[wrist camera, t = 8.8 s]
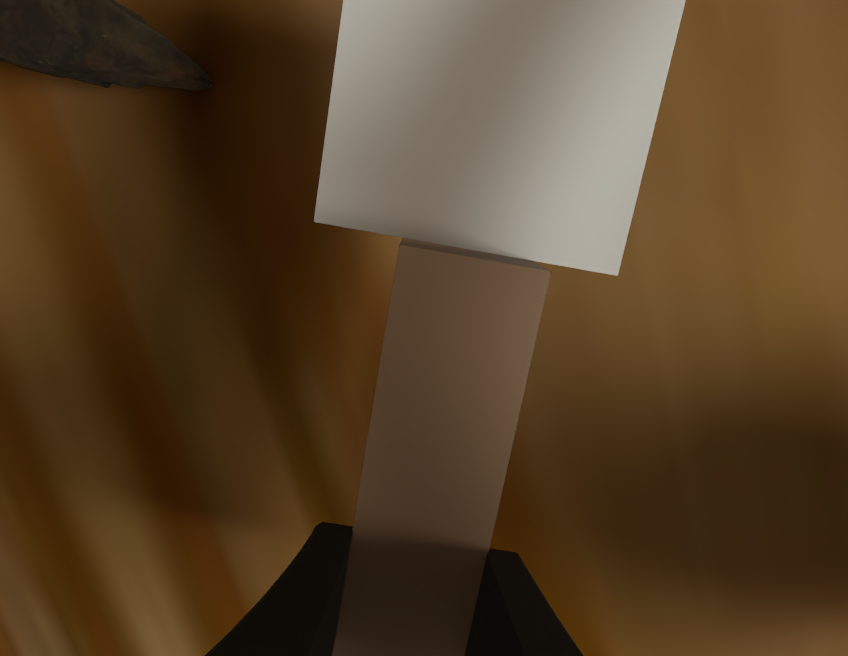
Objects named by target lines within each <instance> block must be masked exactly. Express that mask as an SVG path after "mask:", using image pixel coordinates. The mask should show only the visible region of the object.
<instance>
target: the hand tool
mask: <svg viewBox="0 0 848 656" xmlns="http://www.w3.org/2000/svg"><path fill="white" fill-rule="evenodd" d="M0 60H1V61H4V62H8V63H11V64H14V65H16V66H19V67H21V68H25V69H29V70H33V71H37V72H40V73H44V74H48V75H51V76H57V77H64V78H72V79H76V80H79V81H83V82H86V83H90V84H94V85H98V86H102V87H105V88H109V87H110V85H111V84H112V83H113V84H117V85H122V86H127V87H132V88H137V89H139V88H141V87H143V86H145V85H151V86H157V87H169V88H181V89H190V90H204V89H210V88H213V84H212V82H211V79H210V77H209V76H208V75H207V73H206V72H204V71H203V70H202V68H201V67H200V66H199V65H198V64H197V63H196V62H194V61H193V60H192V59H191V58H190V57H188V56H187V55H186V54H185V53H184V52H182V51H181V50H180V49H179V48H177V47H176V46H175V45H174V44H173V43H172V42H171V41H170V40H169V39H167V38H166V37H165V36H163V35H162V34H160V33H159V32H157V31H156V30H154V29H153V28H151V27H149V26H147V25H146V23H145V22H144V20H143V18H142V17H141V16H139V15H138V14H136V13H134V12H133V11H131V10H129V9H127V8H126V7H124V6H122V5H120V4H119V3H117V2H115V1H114V0H0Z"/></svg>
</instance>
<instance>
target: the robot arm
mask: <svg viewBox="0 0 848 656" xmlns="http://www.w3.org/2000/svg"><path fill="white" fill-rule="evenodd" d="M352 528H353V527H351V526H345V525H339V524H332V523H326V522H322V523H320V524H318V525H317V526H316V527H315V528H314V530H313V532H312V534H311V535H310V537H309V538H308V540H307V542H306V543H305V545H304V546H303V547H302V549H301V550H300V552H299V553H298V554H297V556H296V557H295V558H294V560H293V561H292V562H291V564H290V565H289V566H288V567H287V569H286V570H285V571H284V572H283V574H282V575H281V576H280V577H279V578H278V580H277V581H276V582H275V583H274V584H273V586H272V587H271V588H270V589H269V590H268V592H267V593H266V594H265V595H264V596H263V597H262V598H261V600H260V601H259V602H258V603H257V604H256V605H255V606H254V607H253V608H252V609H251V610H250V611H249V612H248V613H247V614H246V615H245V616H244V618H243V619H242V620H241V621H240V622H239V623H238V624H237V625H236V626H235V627H234V628H233V629H232V630H231V631H230V632H229V633H228V634H227V635H226V636H225V637H224V638H223V639H222V640H221V641H220V642H219V643H218V644H217V645H216V646H215V647H214V648H213V649H211V650H210V651H209V652H208V653H207V654H206V655H205V656H332V653H333V648H334V643H335V638H336V632H337V626H338V620H339V614H340V608H341V602H342V596H343V590H344V584H345V578H346V572H347V566H348V560H349V554H350V548H351V542H352V536H353V531H352ZM465 656H583V654H582V653H581V652H580V650H579V649H578V647H577V646H576V644H575V643H574V641H573V640H572V638H571V637H570V635H569V634H568V632H567V631H566V630H565V628H564V627H563V625H562V624H561V622H560V621H559V619H558V618H557V616H556V614H555V613H554V611H553V610H552V608H551V607H550V605H549V603H548V602H547V600H546V599H545V597H544V595H543V594H542V592H541V591H540V589H539V587H538V586H537V584H536V582H535V581H534V579H533V578H532V576H531V574H530V573H529V571H528V569H527V568H526V566H525V564H524V563H523V561H522V559H521V558H520V556H519V555H518V554H517V553H515V552H509V551H502V550H496V549H489V553H487V556H486V561H485V565H484V570H483V574H482V579H481V583H480V588H479V592H478V597H477V601H476V606H475V610H474V615H473V619H472V624H471V628H470V633H469V637H468V642H467V646H466V651H465Z"/></svg>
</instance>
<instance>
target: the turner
mask: <svg viewBox="0 0 848 656" xmlns="http://www.w3.org/2000/svg"><path fill="white" fill-rule="evenodd" d="M685 1H686V0H343V6H342V14H341V21H340V29H339V36H338V44H337V51H336V59H335V66H334V73H333V81H332V88H331V96H330V103H329V111H328V118H327V126H326V133H325V141H324V148H323V156H322V163H321V171H320V178H319V186H318V193H317V201H316V208H315V215H314V222H317V223H323V224H328V225H334V226H340V227H345V228H351V229H357V230H362V231H368V232H374V233H379V234H385V235H390V236H396V237H402V238H403V240H402V241H401V243H400V244H399V250H398V256H397V262H396V268H395V274H394V280H393V286H392V292H391V298H390V304H389V311H388V317H387V323H386V329H385V335H384V341H383V347H382V353H381V359H380V365H379V371H378V377H377V383H376V389H375V395H374V401H373V407H372V413H371V419H370V425H369V431H368V437H367V443H366V449H365V455H364V462H363V468H362V474H361V480H360V486H359V492H358V498H357V504H356V510H355V516H354V522H353V528H352V531H353V536H352V542H351V548H350V554H349V560H348V566H347V572H346V578H345V584H344V590H343V596H342V602H341V608H340V614H339V620H338V626H337V632H336V638H335V643H334V648H333V653H332V656H465V651H466V646H467V642H468V637H469V633H470V628H471V624H472V619H473V615H474V610H475V606H476V601H477V597H478V592H479V588H480V583H481V579H482V574H483V570H484V565H485V561H486V556H487V553H489V549H490V544H491V540H492V535H493V531H494V526H495V522H496V517H497V513H498V508H499V504H500V499H501V495H502V490H503V486H504V481H505V477H506V472H507V468H508V463H509V459H510V454H511V450H512V445H513V441H514V436H515V432H516V427H517V423H518V418H519V413H520V409H521V404H522V400H523V395H524V391H525V386H526V382H527V377H528V373H529V368H530V364H531V359H532V355H533V350H534V346H535V341H536V337H537V332H538V328H539V323H540V319H541V314H542V310H543V305H544V301H545V296H546V292H547V287H548V283H549V278H550V274H551V271H549V270H547V269H546V268H544V267H542V266H540V265H538V264H536V263H534V262H532V261H537V262H543V263H548V264H554V265H560V266H565V267H571V268H576V269H582V270H588V271H593V272H599V273H605V274H610V275H616V276H618V273H619V268H620V264H621V260H622V256H623V252H624V248H625V244H626V240H627V236H628V232H629V228H630V224H631V220H632V216H633V212H634V208H635V204H636V200H637V195H638V191H639V187H640V183H641V179H642V175H643V171H644V167H645V163H646V159H647V155H648V151H649V147H650V143H651V139H652V135H653V131H654V126H655V122H656V118H657V114H658V110H659V106H660V102H661V98H662V94H663V90H664V86H665V82H666V78H667V74H668V70H669V66H670V62H671V58H672V53H673V49H674V45H675V41H676V37H677V33H678V29H679V25H680V21H681V17H682V13H683V9H684V5H685Z"/></svg>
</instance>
